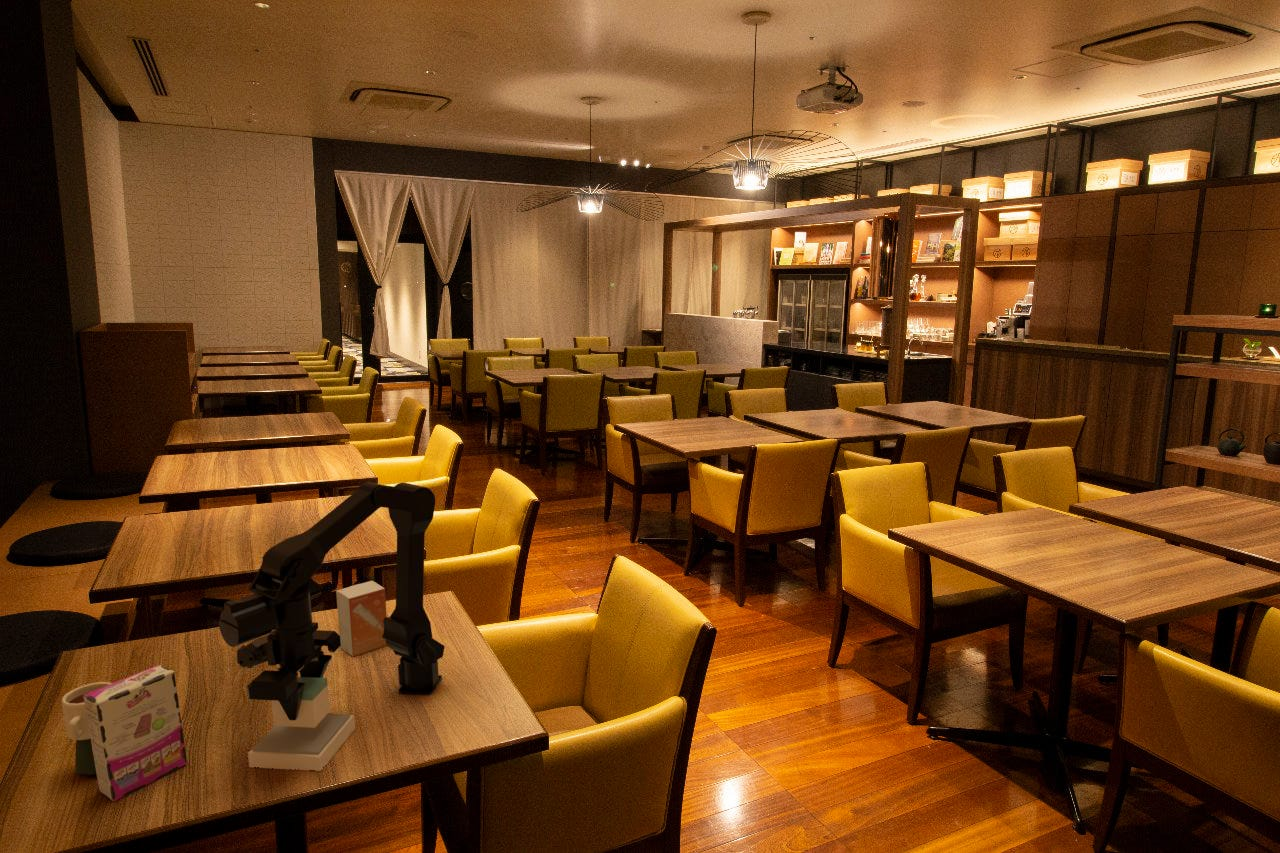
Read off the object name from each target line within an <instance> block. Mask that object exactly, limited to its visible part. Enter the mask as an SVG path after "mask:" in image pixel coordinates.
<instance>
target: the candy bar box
mask: <svg viewBox="0 0 1280 853" xmlns="http://www.w3.org/2000/svg"><path fill="white" fill-rule="evenodd" d="M175 675H176V674H175V671H174V670H172V669H170V668H167V667H166V666H164V665H162V664H157V665H154V666H152V667H149V668H146V669H145V670H141V671H139V672H137V673H135V674H131V675H130V676H126V677H125V678H122V679H119V680H117V681H114V682H111V683H112V684H110V685H107V686H105V687H102V688H100V689H97V690H95V691H92V692H90V693H87V694H85V695H83V697H84V703H85V709H86V714H87V720H88V725H89V732H90V737H91V744H92V750H93V755H94V762H95V767H96V773H97V774H96V778H97V784H98V789H99V792H100V793H101V794H102V795H104V796H105V797H107V798H108V799H109V800H110V801H112V802H117V801H119V800H120V799H122V798H124V797H126V796H128V795H130V794H132V793H134V792H136V791H138V790H140V789H141V788H144V787H146V786H147V785H149V784H151V783H153V782H155V781H157V780H159V779H161V778H163V777H165V776H167V775H169V774H170V773H172V772H175V771H176V770H178V769H180V768H182V767H183V766H186V765H187V764H188V759H187V750H186V744H185V737H184V731H183V730H184V729H183V723H182V717H181V709H180V703H179V694H178V689H177V682H176V676H175Z"/></svg>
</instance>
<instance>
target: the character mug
mask: <svg viewBox="0 0 1280 853" xmlns="http://www.w3.org/2000/svg"><path fill="white" fill-rule="evenodd" d="M112 683H113V682H109V681H100V682H99V681H97V682H92V683H88V684H85V685H80V686H79V687H76V688H74V689H72V690H70V691H68V692H67V693H65V694H64V695H63V696H62V698H61V706H62V713H63V718H64V725H65V726H64V727H65V732H66V736H67V737H68V739H70V740H71V741H75V754H74V755H75V757H74V759H75V760H74V762H75V768H74V769H75V773H77V774H79V775H88V776H89V775H97V773H96V767H95V762H94V755H93V750H92V744H91V737H90V732H89V725H88V720H87V714H86V709H85V703H84V697H83V695H85V694H87V693H90V692H92V691H95V690H97V689H100V688H102V687H105V686H107V685H110V684H112Z"/></svg>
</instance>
